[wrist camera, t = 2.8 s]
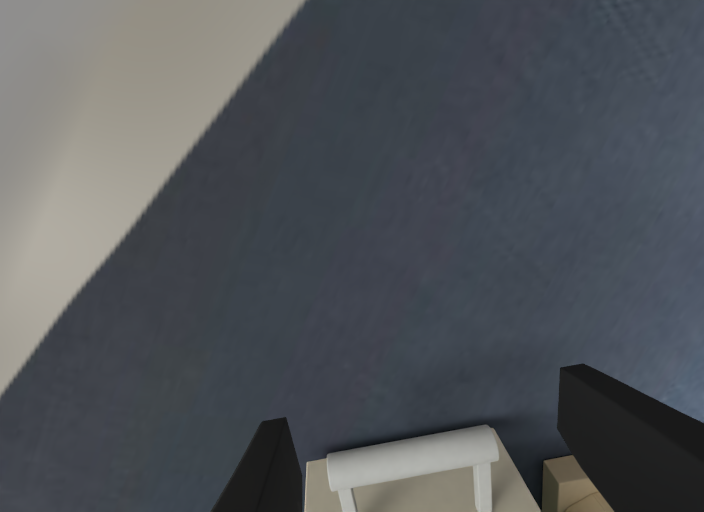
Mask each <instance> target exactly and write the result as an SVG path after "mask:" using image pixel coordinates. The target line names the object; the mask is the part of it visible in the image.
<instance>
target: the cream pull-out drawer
mask: <svg viewBox="0 0 704 512" xmlns="http://www.w3.org/2000/svg"><path fill="white" fill-rule="evenodd" d="M305 512H541V510H540V508H539V507H538V505H537V503H536V501H535V500H534V498H533V496H532V494H531V493H530V491H529V489H528V487H527V486H526V484H525V482H524V480H523V479H522V477H521V475H520V473H519V472H518V470H517V468H516V466H515V465H514V463H513V461H512V459H511V458H510V456H509V454H508V452H507V451H506V449H505V447H504V445H503V444H502V442H501V440H500V438H499V437H498V435H497V433H496V431H495V430H494V428H490V427H489V426H488V425H480V426H475V427H469V428H464V429H459V430H453V431H448V432H442V433H437V434H431V435H426V436H421V437H415V438H410V439H404V440H399V441H393V442H388V443H383V444H377V445H372V446H366V447H361V448H355V449H350V450H345V451H339V452H334V453H329V454H327V458H326V459H320V460H315V461H310V462H307V469H306V491H305Z"/></svg>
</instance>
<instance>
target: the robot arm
mask: <svg viewBox="0 0 704 512" xmlns="http://www.w3.org/2000/svg"><path fill="white" fill-rule="evenodd" d="M557 429H558V431H559V432H560V434H561V436H562V438H563V439H564V441H565V443H566V444H567V446H568V448H569V449H570V451H571V453H572V454H573V456H574V457H575V459H576V461H577V462H578V464H579V465H580V467H581V469H582V470H583V471H584V473H585V474H586V475H587V477H588V478H589V479H590V481H591V482H592V483H593V485H594V486H595V487H596V489H597V490H598V491H599V492H600V494H601V495H602V496H603V498H604V499H605V500H606V502H607V503H608V504H609V506H610V507H611V508H612V509H613V511H614V512H704V423H702V422H700V421H698V420H696V419H694V418H692V417H690V416H687V415H685V414H683V413H681V412H679V411H677V410H675V409H673V408H671V407H669V406H667V405H665V404H663V403H661V402H659V401H657V400H655V399H653V398H651V397H649V396H647V395H645V394H643V393H642V392H640V391H638V390H636V389H634V388H632V387H630V386H628V385H626V384H624V383H622V382H620V381H618V380H616V379H614V378H612V377H610V376H608V375H606V374H604V373H602V372H600V371H598V370H596V369H594V368H592V367H590V366H587V365H585V364H578V365H573V366H567V367H561V368H560V383H559V403H558V423H557ZM211 512H302V473H301V470H300V466H299V463H298V459H297V455H296V452H295V448H294V444H293V441H292V437H291V433H290V430H289V426H288V422H287V419H286V417H284V418H279V419H273V420H268V421H263V422H262V423H261V424H260V425H259V427H258V429H257V431H256V433H255V435H254V437H253V438H252V440H251V442H250V444H249V446H248V448H247V450H246V452H245V453H244V455H243V457H242V459H241V461H240V462H239V464H238V466H237V468H236V470H235V471H234V473H233V475H232V477H231V478H230V480H229V482H228V483H227V485H226V487H225V488H224V490H223V492H222V493H221V495H220V497H219V499H218V500H217V502H216V504H215V505H214V507H213V509H212V510H211Z"/></svg>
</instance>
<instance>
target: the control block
mask: <svg viewBox="0 0 704 512" xmlns="http://www.w3.org/2000/svg"><path fill="white" fill-rule="evenodd" d="M542 512H614V511H613V509H612V508H611V507H610V506H609V504H608V503H607V502H606V500H605V499H604V498H603V496H602V495H601V494H600V492H599V491H598V490H597V489H596V487H595V486H594V485H593V483H592V482H591V481H590V479H589V478H588V477H587V475H586V474H585V473H584V471H583V470H582V469H581V467H580V465H579V464H578V462H577V461H576V459H575V457H574V456H573V455H570V456H565V457H560V458H554V459H549V460H544V461H543V488H542Z"/></svg>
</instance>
